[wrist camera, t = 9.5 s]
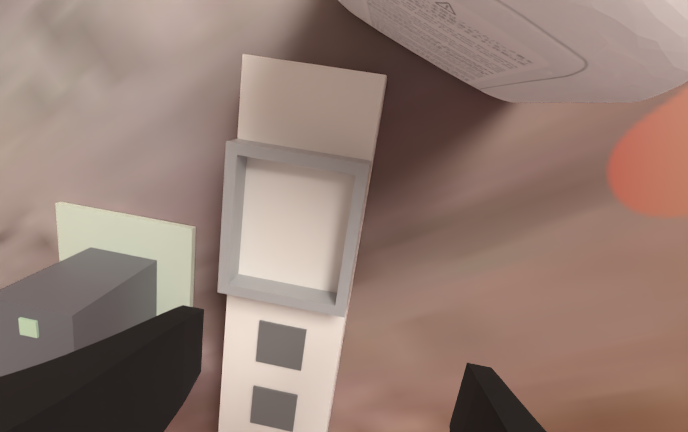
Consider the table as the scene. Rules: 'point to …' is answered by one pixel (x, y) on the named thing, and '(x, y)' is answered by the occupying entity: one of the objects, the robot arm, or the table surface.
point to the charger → (74, 306)
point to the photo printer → (544, 45)
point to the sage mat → (134, 246)
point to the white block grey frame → (292, 238)
